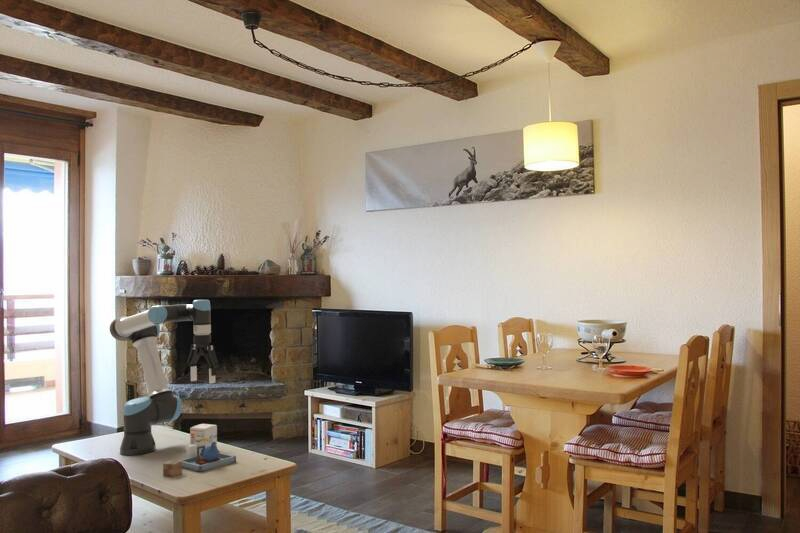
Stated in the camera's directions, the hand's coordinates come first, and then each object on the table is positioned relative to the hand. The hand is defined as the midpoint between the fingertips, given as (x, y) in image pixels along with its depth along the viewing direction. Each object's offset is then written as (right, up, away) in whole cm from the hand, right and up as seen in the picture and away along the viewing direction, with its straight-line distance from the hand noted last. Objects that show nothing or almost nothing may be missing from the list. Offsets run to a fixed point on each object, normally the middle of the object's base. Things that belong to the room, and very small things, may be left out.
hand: (202, 382), depth 292 cm
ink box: (0, -32, +3) cm, 32 cm away
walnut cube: (-2, -31, -33) cm, 45 cm away
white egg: (-2, -32, -10) cm, 33 cm away
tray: (+7, -31, -18) cm, 37 cm away
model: (+8, -31, -18) cm, 36 cm away
